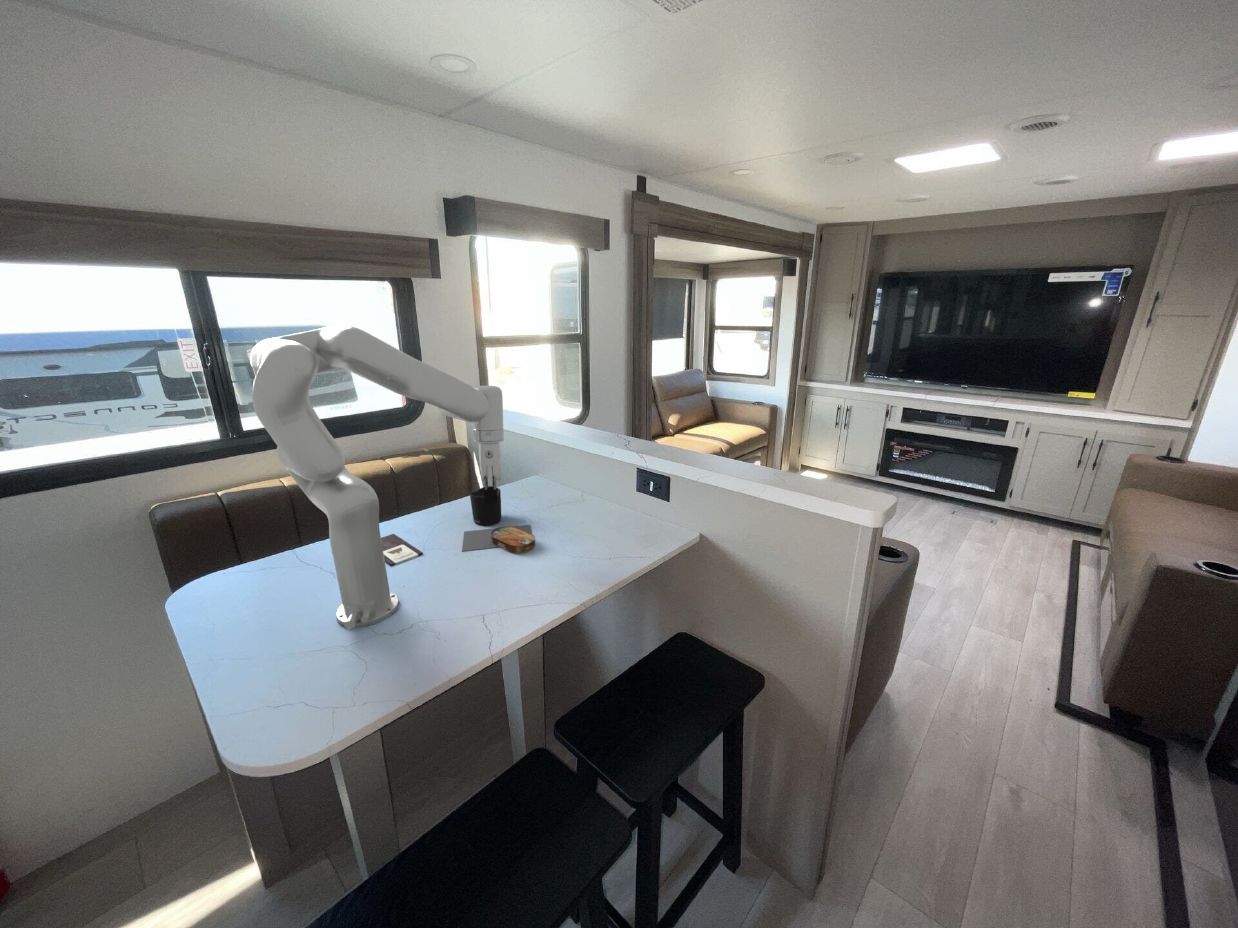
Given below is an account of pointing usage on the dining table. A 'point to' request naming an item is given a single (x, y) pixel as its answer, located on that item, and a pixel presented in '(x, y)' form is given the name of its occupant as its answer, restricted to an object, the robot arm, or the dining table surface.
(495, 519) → the pen holder
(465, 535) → the mat
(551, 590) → the dining table surface
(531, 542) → the tin
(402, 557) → the chocolate bar
